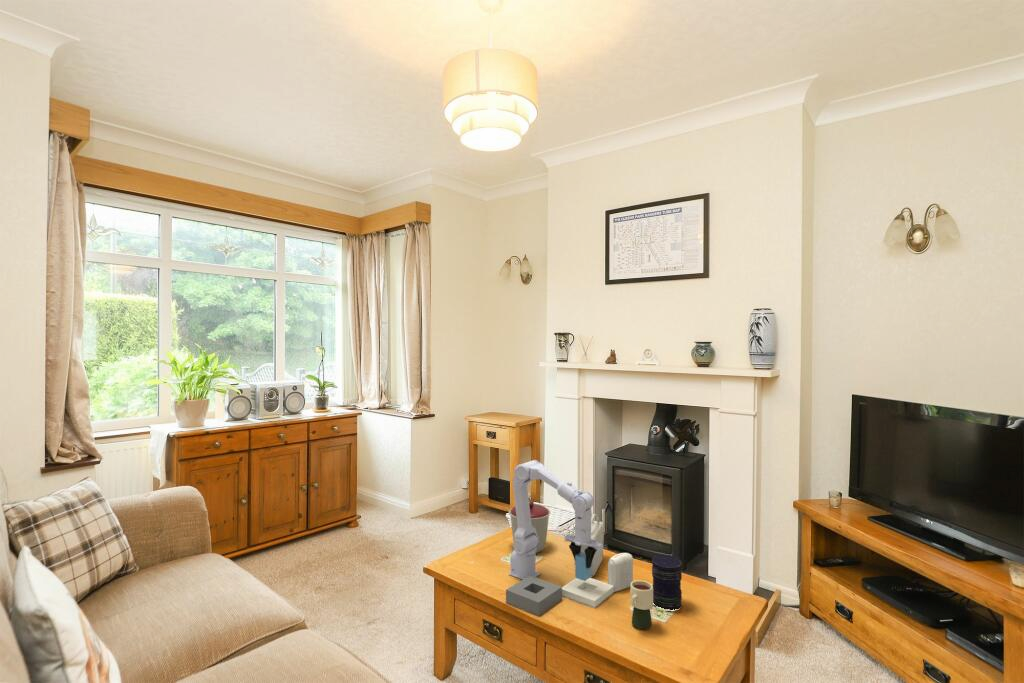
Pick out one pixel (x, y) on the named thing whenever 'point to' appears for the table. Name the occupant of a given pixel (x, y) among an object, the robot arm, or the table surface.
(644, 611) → the character mug
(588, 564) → the robot arm
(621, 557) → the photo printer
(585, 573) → the plug
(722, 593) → the table surface
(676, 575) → the storage jar
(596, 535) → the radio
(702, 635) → the table surface
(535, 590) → the grey square socket block
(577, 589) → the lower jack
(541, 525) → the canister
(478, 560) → the table surface
